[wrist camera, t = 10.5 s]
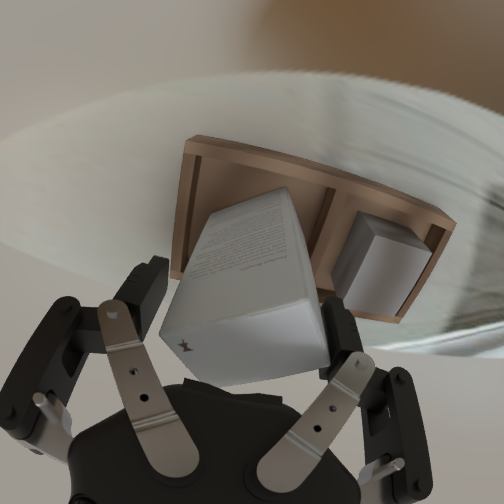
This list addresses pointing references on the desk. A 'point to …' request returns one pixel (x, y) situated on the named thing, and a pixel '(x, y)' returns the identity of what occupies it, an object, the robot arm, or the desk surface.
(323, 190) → the wooden divided tray
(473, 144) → the desk surface
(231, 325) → the skincare box
